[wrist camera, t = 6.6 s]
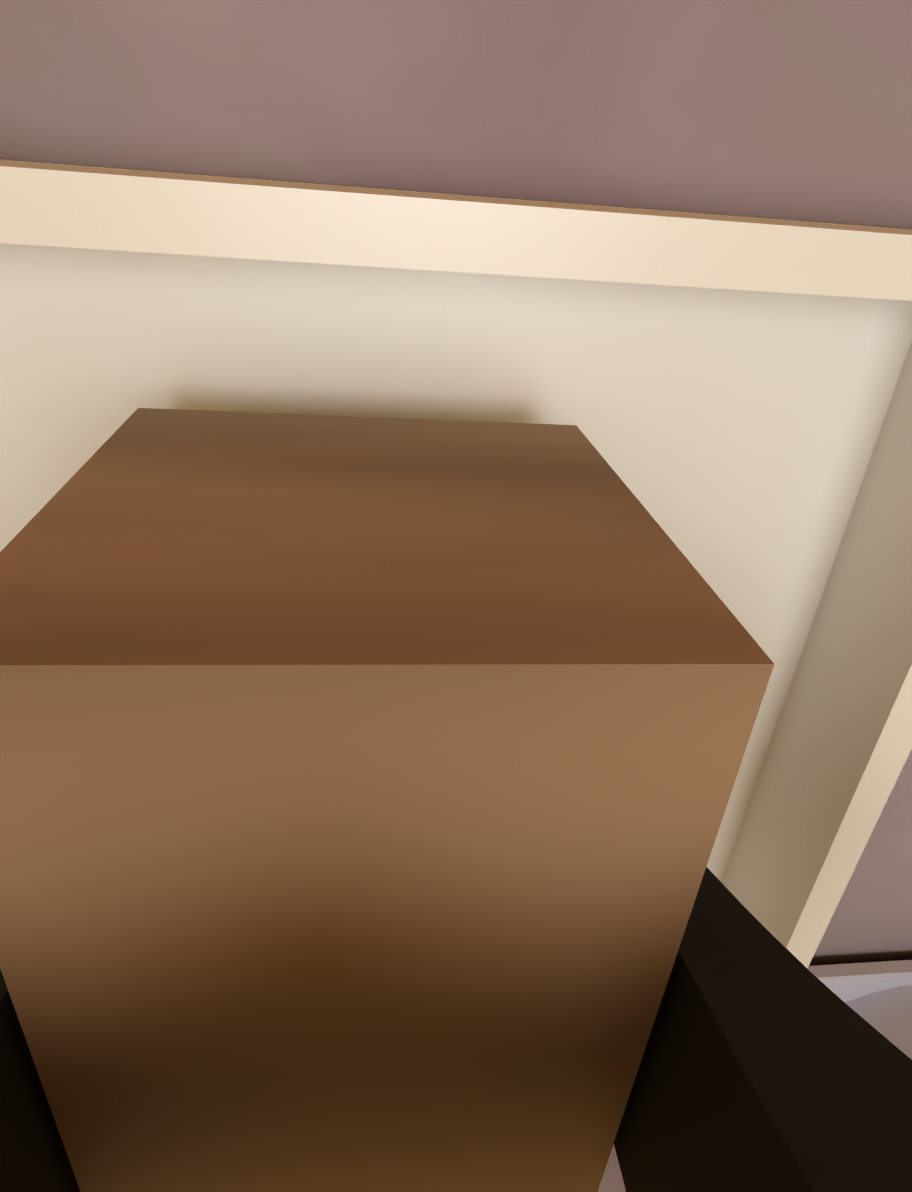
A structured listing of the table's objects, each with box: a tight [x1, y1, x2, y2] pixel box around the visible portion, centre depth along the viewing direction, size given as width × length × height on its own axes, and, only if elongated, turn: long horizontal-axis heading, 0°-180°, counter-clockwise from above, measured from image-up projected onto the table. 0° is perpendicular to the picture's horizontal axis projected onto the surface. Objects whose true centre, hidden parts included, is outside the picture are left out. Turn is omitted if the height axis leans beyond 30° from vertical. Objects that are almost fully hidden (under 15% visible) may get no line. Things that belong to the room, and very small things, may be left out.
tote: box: [0, 159, 912, 969], centre depth 11 cm, size 14×16×3 cm
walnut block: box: [0, 408, 774, 1192], centre depth 9 cm, size 9×5×5 cm, turn 176°
